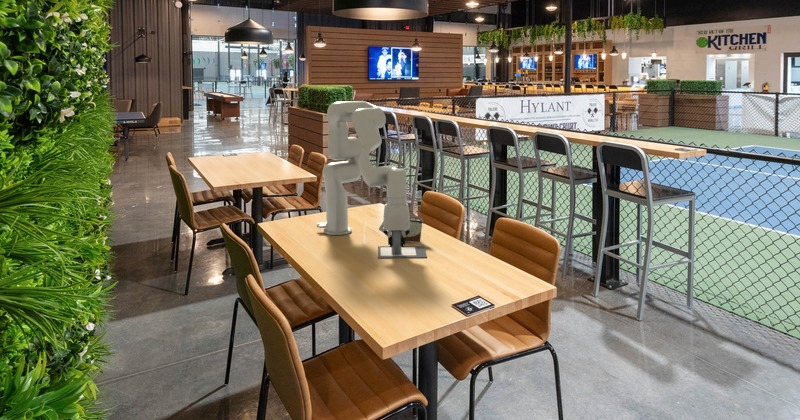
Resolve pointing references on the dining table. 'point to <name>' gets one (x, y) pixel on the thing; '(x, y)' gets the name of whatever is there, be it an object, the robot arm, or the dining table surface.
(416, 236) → the food container
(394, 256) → the mat
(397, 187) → the robot arm
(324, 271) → the dining table surface
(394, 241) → the marker
